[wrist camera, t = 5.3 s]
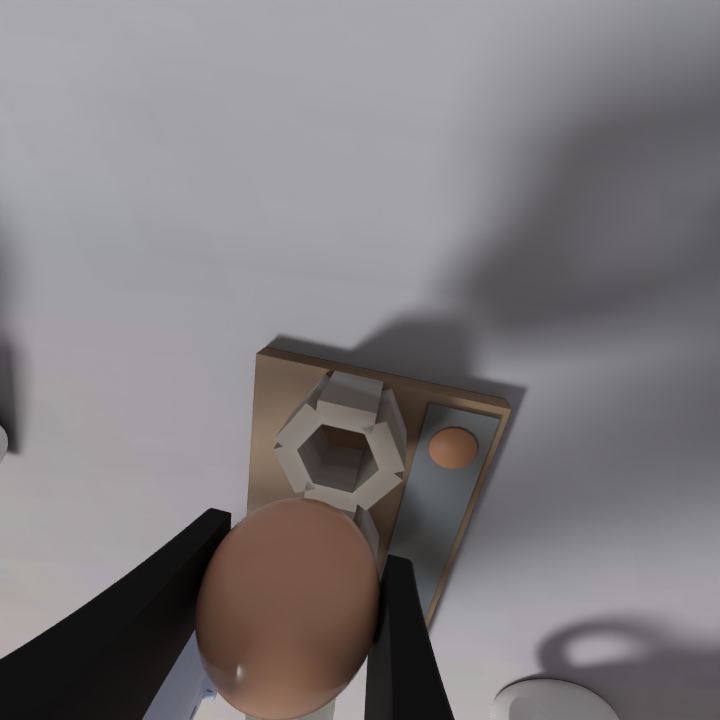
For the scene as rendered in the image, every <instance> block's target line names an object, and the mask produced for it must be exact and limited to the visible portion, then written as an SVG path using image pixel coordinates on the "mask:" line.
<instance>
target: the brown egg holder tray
mask: <svg viewBox="0 0 720 720" xmlns="http://www.w3.org/2000/svg"><path fill="white" fill-rule="evenodd" d="M511 410H512V409H511V408H510V406H509V404H508V402H507V400H506V399H502V398H497V397H492V396H488V395H483V394H479V393H474V392H469V391H465V390H460V389H456V388H451V387H446V386H442V385H437V384H433V383H428V382H423V381H419V380H414V379H410V378H405V377H400V376H396V375H391V374H386V373H382V372H377V371H373V370H368V369H363V368H359V367H354V366H350V365H345V364H340V363H336V362H331V361H327V360H322V359H317V358H313V357H308V356H304V355H299V354H294V353H290V352H285V351H281V350H276V349H271V348H267V347H264V348H263V349H262V350H260V351H259V352H258V353H256V367H255V384H254V401H253V418H252V434H251V451H250V468H249V484H248V501H247V515H248V514H250V513H251V512H253V511H255V510H256V509H258V508H260V507H262V506H264V505H266V504H269V503H272V502H275V501H278V500H282V499H288V498H310V499H315V500H319V501H322V502H325V503H328V504H330V505H332V506H334V507H336V508H337V509H339V510H340V511H342V512H343V513H344V514H346V515H347V516H348V517H349V518H350V519H351V520H352V521H353V522H354V523H355V524H356V525H357V526H358V527H359V529H360V530H361V532H362V533H363V535H364V536H365V537H366V539H367V541H368V543H369V545H370V547H371V550H372V552H373V555H374V557H375V560H376V564H377V568H378V573H379V579H380V581H381V577H382V573H383V570H384V566H385V563H386V559H387V556H388V554H391V555H394V556H398V557H402V558H406V559H410V560H411V562H412V563H413V568H414V574H415V580H416V585H417V590H418V595H419V599H420V604H421V608H422V612H423V616H424V620H425V624H426V628H428V625H429V622H430V620H431V617H432V615H433V612H434V609H435V607H436V604H437V602H438V599H439V596H440V594H441V591H442V589H443V586H444V583H445V581H446V578H447V576H448V573H449V571H450V568H451V565H452V563H453V560H454V558H455V555H456V552H457V550H458V547H459V545H460V542H461V539H462V537H463V534H464V532H465V529H466V527H467V524H468V521H469V519H470V516H471V514H472V511H473V508H474V506H475V503H476V501H477V498H478V495H479V493H480V490H481V488H482V485H483V482H484V480H485V477H486V475H487V472H488V470H489V467H490V464H491V462H492V459H493V457H494V454H495V451H496V449H497V446H498V444H499V441H500V438H501V436H502V433H503V431H504V428H505V425H506V423H507V420H508V418H509V415H510V413H511Z"/></svg>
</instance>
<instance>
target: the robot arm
mask: <svg viewBox="0 0 720 720" xmlns="http://www.w3.org/2000/svg"><path fill="white" fill-rule="evenodd" d="M230 530H231V513H229V512H225V511H221V510H218V509H214V508H210V509H208V510H207V511H206V512H204V513H203V514H202V515H201V516H200V517H198V518H197V519H196V520H195V521H194V522H192V523H191V524H190V525H189V526H188V527H186V528H185V529H184V530H183V531H181V532H180V533H179V534H178V535H177V536H175V537H174V538H173V539H172V540H170V541H169V542H168V543H167V544H165V545H164V546H163V547H162V548H160V549H159V550H158V551H157V552H155V553H154V554H153V555H151V556H150V557H149V558H148V559H146V560H145V561H144V562H142V563H141V564H140V565H138V566H137V567H136V568H135V569H133V570H132V571H131V572H129V573H128V574H127V575H125V576H124V577H123V578H121V579H120V580H119V581H117V582H116V583H114V584H113V585H112V586H110V587H109V588H107V589H106V590H105V591H103V592H102V593H100V594H99V595H98V596H96V597H95V598H93V599H92V600H91V601H89V602H88V603H87V604H85V605H84V606H82V607H81V608H79V609H78V610H76V611H75V612H73V613H72V614H70V615H69V616H68V617H66V618H65V619H63V620H62V621H60V622H59V623H57V624H56V625H54V626H53V627H51V628H49V629H48V630H46V631H45V632H43V633H42V634H40V635H39V636H37V637H35V638H34V639H32V640H31V641H29V642H28V643H26V644H25V645H23V646H21V647H20V648H18V649H16V650H15V651H13V652H12V653H10V654H8V655H7V656H5V657H3V658H2V659H0V720H193V718H194V716H195V714H196V712H197V710H198V708H199V705H200V703H201V701H202V699H206V700H209V701H213V700H215V697H216V695H217V691H216V689H215V688H214V687H213V685H212V683H211V682H210V680H209V678H208V676H207V675H206V673H205V670H204V668H203V665H202V662H201V659H200V656H199V653H198V648H197V642H196V635H195V611H196V603H197V596H198V592H199V588H200V584H201V581H202V577H203V575H204V572H205V570H206V567H207V565H208V563H209V561H210V559H211V557H212V556H213V554H214V552H215V550H216V548H217V547H218V545H219V544H220V543H221V541H222V540H223V538H224V537H225V536H226V535H227V534H228V532H229V531H230ZM380 588H381V600H380V613H379V620H378V625H377V630H376V633H375V637H374V640H373V643H372V645H371V648H370V650H369V652H368V660H367V678H366V697H365V716H364V720H455V719H454V717H453V714H452V710H451V707H450V704H449V701H448V698H447V695H446V692H445V689H444V686H443V683H442V680H441V677H440V673H439V670H438V667H437V663H436V660H435V656H434V653H433V649H432V646H431V642H430V639H429V635H428V632H427V628H426V624H425V620H424V616H423V612H422V608H421V604H420V599H419V595H418V590H417V585H416V580H415V574H414V568H413V563H412V562H411V560H410V559H406V558H402V557H398V556H394V555H391V554H388V556H387V559H386V563H385V566H384V570H383V573H382V577H381V581H380Z"/></svg>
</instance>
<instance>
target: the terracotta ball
mask: <svg viewBox="0 0 720 720" xmlns="http://www.w3.org/2000/svg"><path fill="white" fill-rule="evenodd" d="M380 600H381V588H380V579H379V573H378V568H377V564H376V560H375V557H374V555H373V552H372V550H371V547H370V545H369V543H368V541H367V539H366V537H365V536H364V535H363V533H362V532H361V530H360V529H359V527H358V526H357V525H356V524H355V523H354V522H353V521H352V520H351V519H350V518H349V517H348V516H347V515H346V514H344V513H343V512H342V511H340V510H339V509H337V508H336V507H334V506H332V505H330V504H328V503H325V502H322V501H319V500H315V499H310V498H288V499H282V500H278V501H275V502H272V503H269V504H266V505H264V506H262V507H260V508H258V509H256V510H255V511H253V512H251V513H250V514H248V515H247V516H246V517H244V518H243V519H242V520H241V521H240V522H238V523H237V524H236V525H235V526H234V527H233V528H232V529H231V530H230V531H229V532H228V534H227V535H226V536H225V537H224V538H223V540H222V541H221V543H220V544H219V545H218V547H217V548H216V550H215V552H214V554H213V556H212V557H211V559H210V561H209V563H208V565H207V567H206V570H205V572H204V575H203V577H202V581H201V584H200V588H199V592H198V596H197V603H196V611H195V635H196V642H197V648H198V653H199V656H200V659H201V662H202V665H203V668H204V670H205V673H206V675H207V676H208V678H209V680H210V682H211V683H212V685H213V687H214V688H215V689H216V691H217V692H218V693H219V694H220V695H221V696H222V697H223V698H224V699H225V700H226V701H227V702H228V703H229V704H230V705H231V706H232V707H234V708H235V709H237V710H239V711H240V712H242V713H244V714H246V715H249V716H251V717H254V718H257V719H261V720H293V719H297V718H301V717H303V716H306V715H309V714H311V713H313V712H316V711H317V710H319V709H320V708H322V707H324V706H325V705H327V704H328V703H330V702H331V701H332V700H333V699H335V698H336V697H337V696H338V695H339V694H340V693H341V692H342V691H343V690H344V689H345V688H346V687H347V686H348V685H349V684H350V682H351V681H352V680H353V679H354V677H355V676H356V674H357V673H358V671H359V670H360V668H361V666H362V665H363V663H364V661H365V659H366V657H367V655H368V652H369V650H370V648H371V645H372V643H373V640H374V637H375V633H376V630H377V625H378V620H379V613H380Z"/></svg>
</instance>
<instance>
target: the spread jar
mask: <svg viewBox="0 0 720 720" xmlns="http://www.w3.org/2000/svg"><path fill="white" fill-rule="evenodd" d="M7 447H8V437H7V434H6V432H5V430H4V429H3V428H2V427H1V426H0V463H1V462H2V460H3V458H4V456H5V454H6V451H7Z"/></svg>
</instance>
